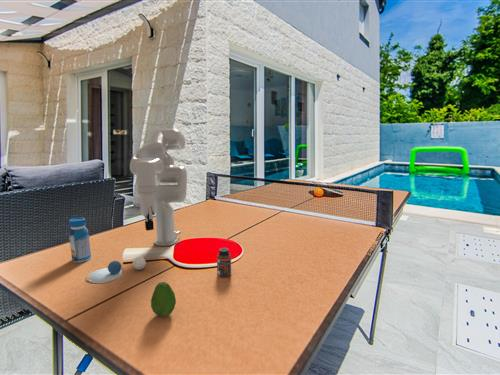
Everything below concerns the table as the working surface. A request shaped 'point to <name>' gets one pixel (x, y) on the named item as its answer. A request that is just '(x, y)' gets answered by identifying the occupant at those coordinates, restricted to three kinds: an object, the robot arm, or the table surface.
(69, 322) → the table surface
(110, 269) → the object ball
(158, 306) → the avocado
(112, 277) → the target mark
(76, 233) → the blue medicine bottle
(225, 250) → the supplement bottle
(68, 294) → the table surface
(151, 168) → the robot arm
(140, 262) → the cue ball
